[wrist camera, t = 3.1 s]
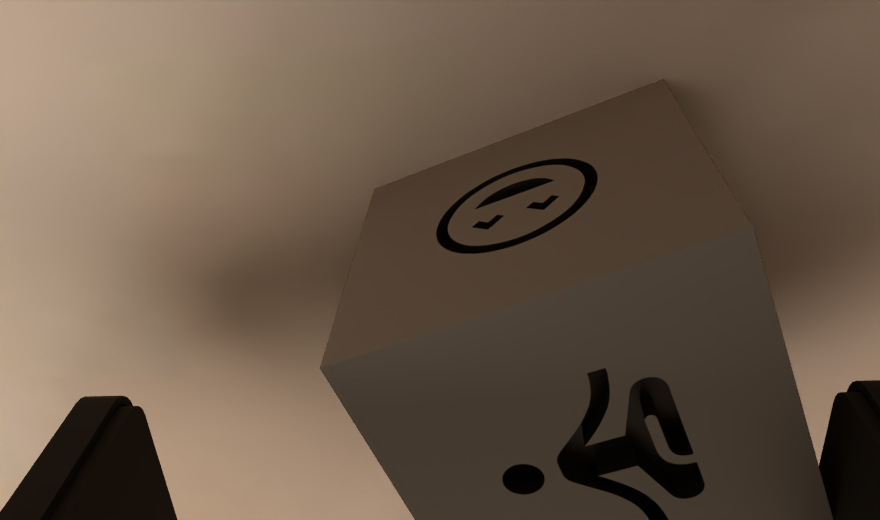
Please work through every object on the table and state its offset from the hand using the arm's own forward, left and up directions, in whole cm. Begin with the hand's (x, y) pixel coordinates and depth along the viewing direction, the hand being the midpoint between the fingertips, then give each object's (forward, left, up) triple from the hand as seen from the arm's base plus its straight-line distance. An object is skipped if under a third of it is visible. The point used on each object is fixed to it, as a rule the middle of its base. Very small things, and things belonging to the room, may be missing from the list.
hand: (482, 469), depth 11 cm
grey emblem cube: (-1, +1, -5) cm, 5 cm away
